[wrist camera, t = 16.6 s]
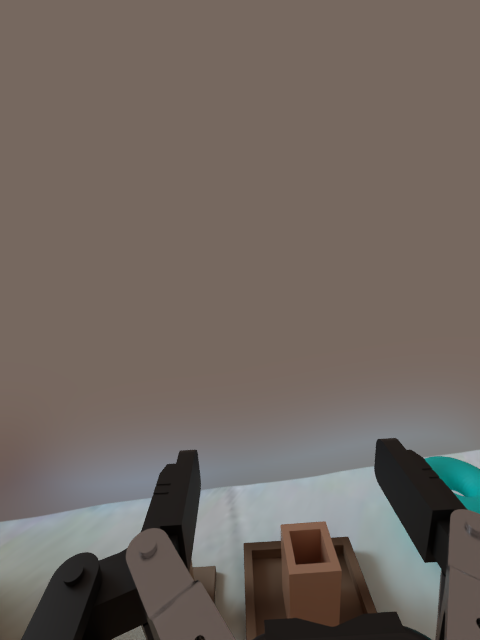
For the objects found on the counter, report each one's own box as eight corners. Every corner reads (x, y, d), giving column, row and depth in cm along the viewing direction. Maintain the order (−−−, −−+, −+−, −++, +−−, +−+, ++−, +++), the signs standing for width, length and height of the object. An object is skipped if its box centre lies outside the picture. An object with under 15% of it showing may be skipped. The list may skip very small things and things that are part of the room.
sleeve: (338, 641, 30) (341, 570, 28) (290, 644, 30) (289, 574, 28) (323, 586, 35) (325, 521, 32) (282, 589, 35) (280, 524, 32)
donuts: (400, 453, 43) (469, 450, 43) (394, 507, 46) (459, 504, 45) (445, 515, 33) (535, 512, 33) (434, 579, 36) (518, 576, 36)
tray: (405, 710, 26) (407, 693, 26) (249, 720, 26) (248, 703, 26) (347, 550, 40) (348, 536, 39) (244, 556, 40) (243, 543, 39)
